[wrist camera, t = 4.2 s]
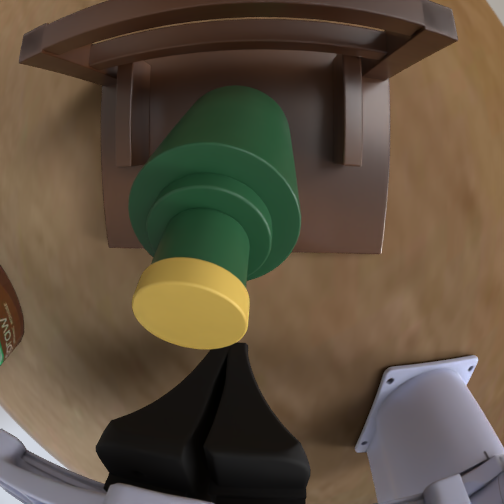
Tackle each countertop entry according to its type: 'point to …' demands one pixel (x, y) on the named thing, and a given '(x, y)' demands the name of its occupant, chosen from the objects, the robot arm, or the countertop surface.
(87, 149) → the countertop surface
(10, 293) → the food container
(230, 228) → the bottle
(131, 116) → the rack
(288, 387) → the countertop surface
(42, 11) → the countertop surface
